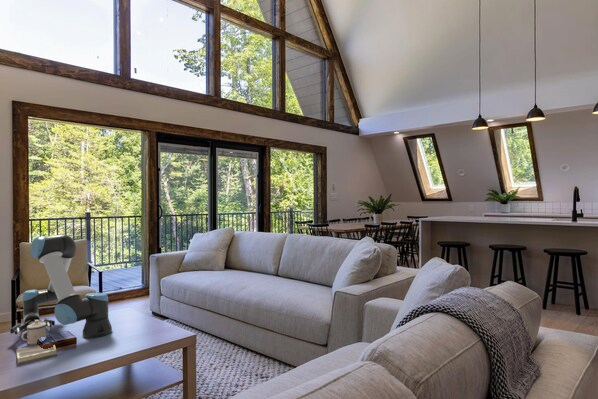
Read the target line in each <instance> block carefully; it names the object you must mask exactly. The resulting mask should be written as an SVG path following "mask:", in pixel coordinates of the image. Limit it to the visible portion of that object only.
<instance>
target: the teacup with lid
mask: <svg viewBox="0 0 598 399" xmlns="http://www.w3.org/2000/svg"><path fill="white" fill-rule="evenodd" d="M46 325H47V324H46V323H45V322H39V320H35V321H34V323H32V324H30V325H28V326H27V329H26V330H25V331H23V332H22V334H21V337H20V338H21V339H22V340H23V341H27V342H26V343H27V344H28V345H38V344H37V340H38V338H41V337H45V336H46V337H47V326H46ZM25 334H27V338H25V337H24V335H25Z"/></svg>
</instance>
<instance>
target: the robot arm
mask: <svg viewBox="0 0 598 399" xmlns="http://www.w3.org/2000/svg"><path fill="white" fill-rule="evenodd" d="M76 253H77V244H76V241H75V240H74V239H73V238H72V237H71V236H69V235H67V234H56V235H46V236H44V235H42V236H38V237H37V236H36V237H35V238H33V240H32V241H31V244H30V255H31V258H34V259H37V260H38V261H39V263H41V264H43V265H44V268H45V271H46V273H47V276H48V278H49V284H48V287H47V289H45V290H43V291H39V290H38V289H29V290H25V291H24V292H23V295H22V307H23V309H22V311H23V312H22V313H23V314H22V318H23V323H20V322H18V323H16V325H14V326H13V327H11V328H10V334H14V335H17V337H20V332H22V331H24V330H27V326H28V325H30V324H32V323H34V321H35V320H39V322H45V323H46V324H47V325H46V329H47V331H51V328H52V327H53V326H55V325H56V322H55V320H54V319H48V318H44V319H43V320H41V319H40V314H39V305H43V304H46V303H51V302H55V301H56V304H55V305H56V306H55V307H54V311H53V312H54V317H55V319H56V320H57V322H58V323H59V324H60V325H63V326H66V325H67V326H68V325H72V324H75V323H77V322H78V323H79V322H81V321H84V320H85V322H84V326H83V328H82V337H84V338H86V339H94V338H95V339H96V338H101V337H104V336H107V335H110V334H111V333H112V332H113V326H112V324H111V321H110V319H109V297H108V296H109V295H108V294H107V293H104V292H90V293H86V294H85V295H84V297H83V298H81V294H79V293H76V291H75V289H74V287H73V284H72V282H71V281H72V280H70V277H69V274H68V271H69V268H70V266H71V262H72V259H73V258H75V256H76Z"/></svg>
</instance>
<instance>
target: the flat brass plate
mask: <svg viewBox="0 0 598 399" xmlns="http://www.w3.org/2000/svg"><path fill="white" fill-rule="evenodd" d="M15 350H16V356H17V353H19V356H20V357H24V356H28V355H33V354H37V353H42V352H46V351H51V350H53V347H51V348H48V349H43V348H41V347H40V346H39V344H34V345H31V346H26V347H22V348H16V349H15ZM57 356H58V353H57V354H54V355H49V356H45V357H41V358H36V359H32V360H28V361H23V362H19V363H18V360H17V359H16V365H17V366H19V365H23V364H28V363H32V362H36V361H40V360H45V359H49V358H53V357H57Z"/></svg>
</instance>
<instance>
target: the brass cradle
mask: <svg viewBox="0 0 598 399" xmlns="http://www.w3.org/2000/svg"><path fill="white" fill-rule="evenodd" d="M54 354H57V355H58V353H57V348H56V345H55V344H54V345H53V350H51V351H46V352H42V353H37V354H33V355H28V356H24V357H20V356H19V353H17V355H16V361H17V360H18V363H19V362H23V361H28V360H32V359H36V358H41V357H45V356H49V355H54Z"/></svg>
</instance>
